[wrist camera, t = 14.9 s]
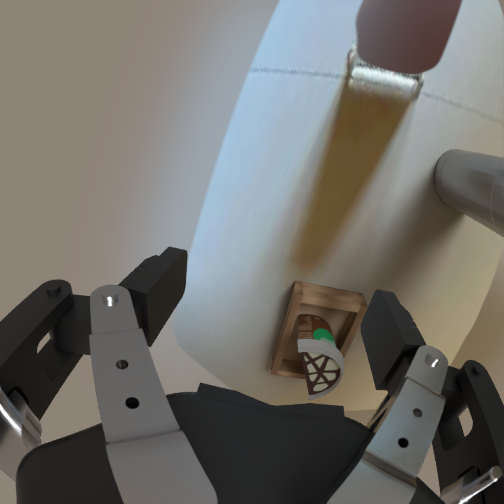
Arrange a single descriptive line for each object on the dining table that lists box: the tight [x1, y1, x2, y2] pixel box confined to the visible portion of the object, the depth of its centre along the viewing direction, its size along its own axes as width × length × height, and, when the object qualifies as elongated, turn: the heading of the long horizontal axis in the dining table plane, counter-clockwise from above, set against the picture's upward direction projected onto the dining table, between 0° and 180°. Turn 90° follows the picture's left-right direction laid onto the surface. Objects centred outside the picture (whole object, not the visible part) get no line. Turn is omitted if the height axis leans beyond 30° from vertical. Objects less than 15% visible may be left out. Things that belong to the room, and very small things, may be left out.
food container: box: [298, 314, 344, 400], centre depth 40 cm, size 12×6×10 cm, turn 15°
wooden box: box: [271, 281, 368, 379], centre depth 44 cm, size 11×17×4 cm, turn 171°
